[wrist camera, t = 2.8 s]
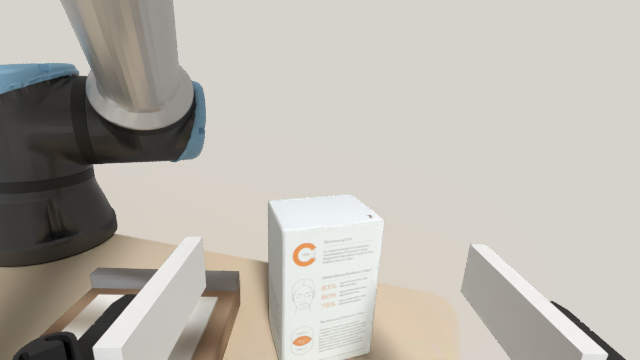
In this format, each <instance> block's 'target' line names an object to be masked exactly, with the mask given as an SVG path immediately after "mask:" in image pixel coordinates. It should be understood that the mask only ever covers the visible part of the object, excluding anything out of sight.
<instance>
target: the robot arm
mask: <svg viewBox="0 0 640 360" xmlns="http://www.w3.org/2000/svg"><path fill="white" fill-rule="evenodd" d="M61 2H62V5H63V7H64V9H65V12H66V14H67V16H68V18H69V20H70V22H71V25H72V27H73V29H74V32H75V34H76V36H77V38H78V40H79V43H80V45H81V47H82V49H83V51H84V54H85V56H86V58H87V61H88V63H89V65H90V67H91V71H90V73H89V74H88V76H78V75H79V71H78V70H77V69H76V67H75V66H74V65H72V64H65V63H45V64H10V65H0V266H23V265H32V264H38V263H44V262H49V261H53V260H57V259H61V258H65V257H68V256H71V255H75V254H77V253H80V252H83V251H85V250H88V249H90V248H92V247H95V246H97V245H99V244H100V243H102V242H104V241H105V240H107V239H108V238H110V237H111V236H112V235H113V234H114V233H115V231H116V230H117V220H116V214H115V211H114V210H113V208H112V207H111V206H110V204H109V202H108V201H107V199H106V197H105V195H104V193H103V192H102V190H101V188H100V187H99V185H98V183H97V181H96V179H95V175H94V169H93V164H105V163H130V162H151V161H152V162H153V161H171V162H177V161H180V160H188V159H194V158H196V157H197V156H199V154H200V153H201V151H202V148H203V144H204V138H205V130H204V128H205V122H206V108H205V98H204V92H203V88H202V86H201V85H200V84H199V83H197V82H194V81H192V80H191V79H190V77H189V75H188V74H187V73H186V71H185V70H184V69H183V68H182V67H181V66H180V65H179V63H178V52H177V41H176V30H175V19H174V7H173V0H61ZM205 288H206V278H205V264H204V249H203V237H186V238H185V239H184V240H183V241H182V242H181V244H180V245H179V246H178V247H177V248H176V250H175V251H174V252H173V253H172V254H171V255H170V257H169V258H168V259H167V260H166V261H165V263H164V264H163V265H162V266H161V267H160V268H159V270H158V271H157V272H156V273H155V274H154V276H153V277H152V278H151V279H150V280H149V281H148V283H147V284H146V285H145V286H144V287H143V289H142V290H141V291H140V292H139V293H138V294H126V295H124V296H122V297H121V298H119V299H118V300H116V301H115V302H113V303H112V304H111V305H110V306H109V307H108V308H107V309H106V310H105V311H104V313H103V315H102V316H100V317H99V318H98V319H97V320H96V321H95V323H94V324H92V325H91V326H90V328H89V329H88V330H87V331H86V332H85V333H84V334H83V335H82V336H81V337H80V338H79V339H78V340H77V337H76V336H75V335H74V333H71V332H67V331H64V332H55V333H51V334H47V335H44V336H42V337H40V338H37V339H35V340H33V341H31V342H30V343H28V344H27V345H25V346H24V347H22V348H21V349H20V350H19V351H18V352H17V353H16V354H15V355H14V357H13V359H12V360H167V359H168V357H169V355H170V353H171V351H172V350H173V348H174V346H175V344H176V342H177V340H178V338H179V336H180V335H181V333H182V331H183V329H184V327H185V325H186V323H187V321H188V319H189V318H190V316H191V314H192V312H193V310H194V308H195V306H196V304H197V303H198V301H199V299H200V297H201V295H202V293H203V291H204V289H205ZM461 293H462V294H463V295H464V297H465V298H466V299H467V301H468V302H469V303H470V305H471V306H472V307H473V309H474V310H475V312H476V313H477V314H478V316H479V317H480V318H481V320H482V321H483V322H484V324H485V325H486V326H487V328H488V329H489V330H490V332H491V333H492V334H493V336H494V337H495V339H496V340H497V341H498V343H499V344H500V345H501V347H502V348H503V349H504V351H505V352H506V353H507V355H508V356H509V358H510V359H511V360H626V359H624V358H623V357H622V356H621V355H620V354H619V353H617V352H616V351H615V350H614V349H613V348H611V347H610V346H609V345H608V344H607V343H606V342H605V341H603V340H602V339H601V338H600V337H599V336H598V335H596V334H595V333H594V332H593V331H590V329H589V328H588V327H587V326H586V325H585V324H584V323H582V322H580V320H579V319H578V318H577V317H576V316H574V315H573V314H572V313H571V312H570V311H568V310H567V309H565V308H564V307H562V306H560V305H558V304H557V303H555V302H553V301H548V300H547V299H546V298H545V297H544V296H543V295H541V294H540V293H539V292H538V291H537V290H536V289H535V288H534V287H532V286H531V285H530V284H529V283H528V282H527V281H526V280H525V279H523V278H522V277H521V276H520V275H519V274H518V273H517V272H516V271H515V270H513V269H512V268H511V267H510V266H509V265H508V264H507V263H506V262H504V261H503V260H502V259H501V258H500V257H499V256H498V255H497V254H495V253H494V252H493V251H492V250H491V249H490V248H489V247H487V245H485V244H470V248H469V253H468V258H467V263H466V268H465V273H464V278H463V283H462V288H461Z"/></svg>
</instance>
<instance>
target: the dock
mask: <svg viewBox="0 0 640 360" xmlns="http://www.w3.org/2000/svg"><path fill="white" fill-rule="evenodd" d="M158 270H159V269H127V268H97V269H96V270H95V271H94V272H92V273H91V274H90V278H91V283H92V289H91V290H90V291H89V292H88V293H87V294H85V295H84V296H83V297H82V298H81V299H80V300H79V301H78V302H77V303H76V304H75V305H74V306H73V307H71V308H70V309H69V310H68V311H67V312H66V313H65V314H64V315H63V316H62V317H61V318H60V319H58V320H57V321H56V322H55V323H54V324H53V325H52V326H51V327H50V328H49V329H48V330H47V331H46V332H44V333H43V334H42V335H41V336H40V337H42V336H44V335H47V334H51V333H55V332H64V331H67V332H71V333H74V335H75V336H76V337H77V340H78V339H79V338H80V337H81V336H82V335H83V334H84V333H85V332H86V331H87V330H88V329H89V328H90V326H91V325H92V324H94V323H95V321H96V320H97V319H98V318H99V317H100V316H102V315H103V313H104V311H105V310H106V309H107V308H108V307H109V306H110V305H111V304H112V303H113V302H115V301H116V300H118V299H119V298H121V297H122V296H124V295H126V294H138V293H139V292H140V291H141V290H142V289H143V287H144V286H145V285H146V284H147V283H148V281H149V280H150V279H151V278H152V277H153V276H154V274H155V273H156V272H157V271H158ZM205 278H206V288H205V289H204V291H203V293H202V295H201V297H200V299H199V301H198V303H197V304H196V306H195V308H194V310H193V312H192V314H191V316H190V318H189V319H188V321H187V323H186V325H185V327H184V329H183V331H182V333H181V335H180V336H179V338H178V340H177V342H176V344H175V346H174V348H173V350H172V351H171V353H170V355H169V357H168V359H167V360H222V359H223V356H224V353H225V349H226V346H227V343H228V340H229V337H230V334H231V331H232V328H233V325H234V322H235V319H236V316H237V313H238V309H239V306H240V284H239V271H205ZM40 337H39V338H40Z"/></svg>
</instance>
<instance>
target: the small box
mask: <svg viewBox="0 0 640 360" xmlns="http://www.w3.org/2000/svg"><path fill="white" fill-rule="evenodd" d="M383 228H384V220H383V219H382V218H381V217H379V216H378V215H377V214H376V213H375V212H373V211H372V210H371V209H370V208H368V207H367V206H366V205H364V204H363V203H362V202H361V201H359V200H358V199H357V198H355V197H354V196H353V195H351V194H347V195H335V196H323V197H310V198H298V199H285V200H271V201H268V248H269V249H268V252H269V253H268V254H269V257H268V258H269V323H270V327H271V331H272V335H273V339H274V343H275V347H276V351H277V355H278V359H279V360H345V359H349V358H352V357H356V356H360V355H363V354H367V353H369V352H370V344H371V335H372V327H373V318H374V309H375V300H376V291H377V282H378V272H379V264H380V255H381V246H382V238H383Z"/></svg>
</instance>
